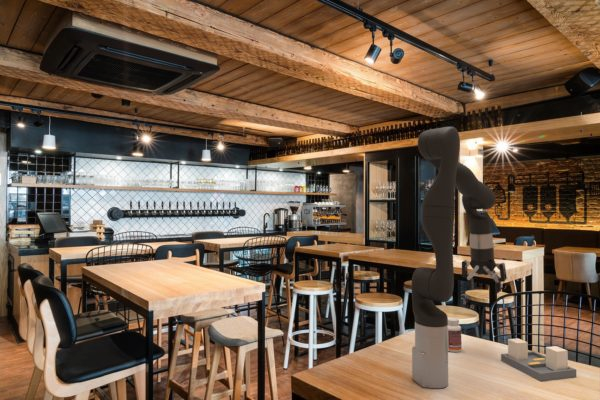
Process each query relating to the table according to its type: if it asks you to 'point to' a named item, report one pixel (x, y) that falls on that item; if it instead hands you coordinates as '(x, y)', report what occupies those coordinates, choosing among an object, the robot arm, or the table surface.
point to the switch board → (538, 367)
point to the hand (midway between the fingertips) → (484, 290)
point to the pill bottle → (454, 335)
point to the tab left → (518, 349)
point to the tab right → (556, 358)
